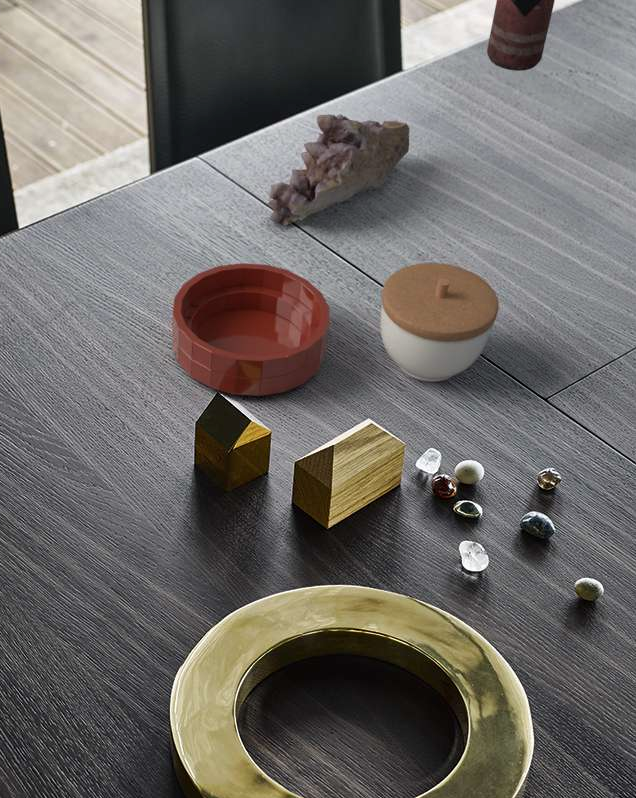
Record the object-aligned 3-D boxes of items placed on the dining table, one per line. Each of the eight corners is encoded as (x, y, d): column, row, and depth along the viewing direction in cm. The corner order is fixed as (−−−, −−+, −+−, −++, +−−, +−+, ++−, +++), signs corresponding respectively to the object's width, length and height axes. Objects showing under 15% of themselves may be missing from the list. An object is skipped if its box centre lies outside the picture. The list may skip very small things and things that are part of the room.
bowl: (342, 326, 124) (348, 285, 120) (297, 419, 114) (301, 377, 111) (204, 290, 127) (206, 249, 123) (148, 377, 117) (148, 335, 114)
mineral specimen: (347, 210, 128) (302, 121, 126) (276, 246, 135) (232, 162, 133) (431, 157, 143) (391, 77, 141) (363, 192, 150) (324, 116, 148)
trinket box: (417, 412, 116) (434, 332, 109) (349, 346, 122) (361, 267, 115) (505, 375, 120) (527, 296, 113) (436, 314, 126) (452, 235, 119)
